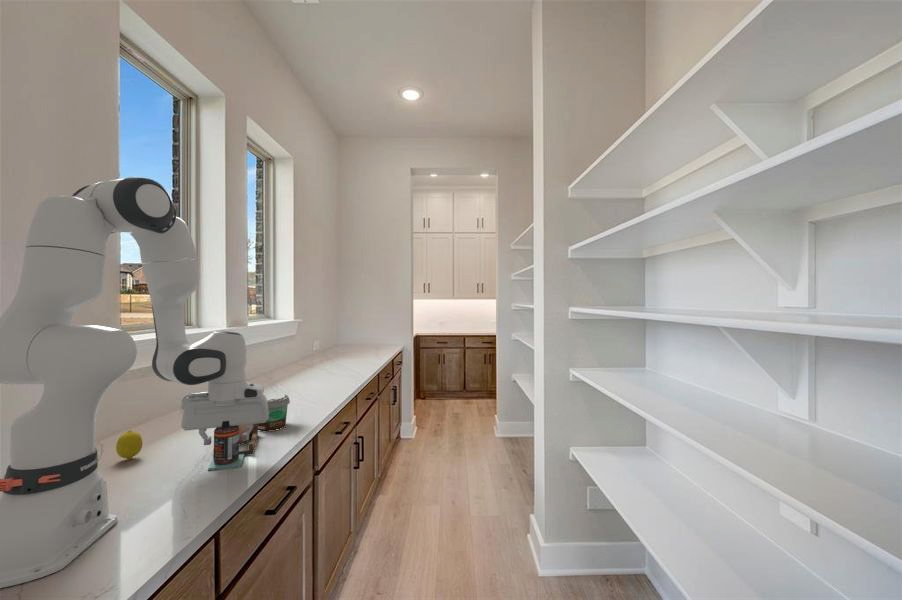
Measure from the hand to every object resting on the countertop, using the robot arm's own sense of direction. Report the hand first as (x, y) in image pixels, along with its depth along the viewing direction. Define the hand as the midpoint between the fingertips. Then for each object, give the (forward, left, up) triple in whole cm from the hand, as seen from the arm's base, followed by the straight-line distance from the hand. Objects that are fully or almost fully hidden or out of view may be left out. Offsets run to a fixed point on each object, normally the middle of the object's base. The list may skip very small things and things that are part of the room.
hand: (226, 442), depth 104 cm
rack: (+12, -1, -6) cm, 13 cm away
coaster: (0, 0, -6) cm, 6 cm away
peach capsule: (+16, -1, -6) cm, 17 cm away
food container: (+26, -11, -6) cm, 29 cm away
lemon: (+12, +25, -6) cm, 28 cm away
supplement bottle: (0, 0, -5) cm, 5 cm away
